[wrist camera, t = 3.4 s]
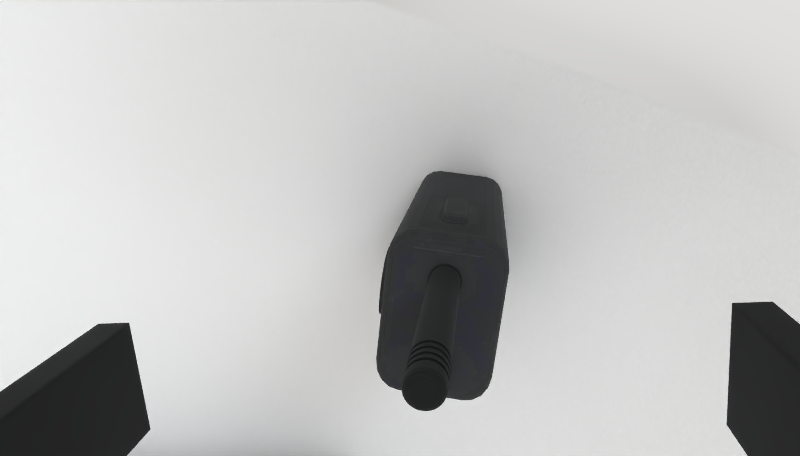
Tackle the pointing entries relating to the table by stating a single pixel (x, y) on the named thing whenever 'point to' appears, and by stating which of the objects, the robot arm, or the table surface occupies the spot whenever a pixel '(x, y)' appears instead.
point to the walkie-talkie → (444, 291)
